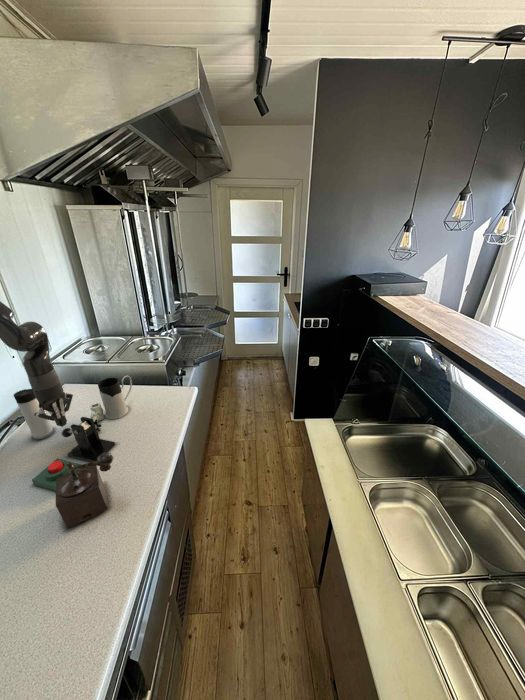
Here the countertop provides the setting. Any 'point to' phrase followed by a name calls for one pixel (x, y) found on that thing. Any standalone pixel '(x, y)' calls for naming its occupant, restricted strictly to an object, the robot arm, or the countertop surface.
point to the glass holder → (113, 397)
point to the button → (55, 467)
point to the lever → (68, 432)
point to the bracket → (88, 442)
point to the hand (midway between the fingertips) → (62, 425)
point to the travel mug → (29, 408)
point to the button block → (52, 476)
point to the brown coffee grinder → (82, 491)
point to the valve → (97, 414)
